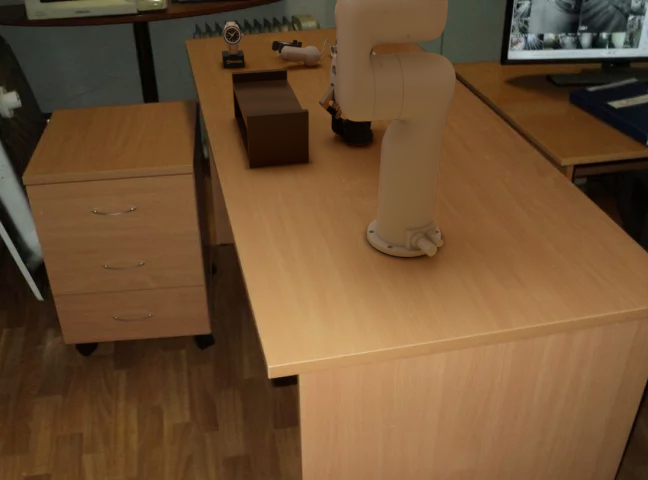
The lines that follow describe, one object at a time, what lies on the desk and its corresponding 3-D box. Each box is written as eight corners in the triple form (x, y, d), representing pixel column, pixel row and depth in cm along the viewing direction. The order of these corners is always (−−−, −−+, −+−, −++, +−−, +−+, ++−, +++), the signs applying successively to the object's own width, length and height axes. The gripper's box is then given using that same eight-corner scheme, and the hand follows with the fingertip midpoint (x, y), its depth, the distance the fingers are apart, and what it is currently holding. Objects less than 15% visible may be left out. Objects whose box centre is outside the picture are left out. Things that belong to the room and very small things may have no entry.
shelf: (308, 162, 148) (308, 111, 141) (249, 168, 145) (246, 116, 139) (287, 115, 167) (286, 68, 161) (234, 119, 165) (231, 72, 158)
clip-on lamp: (330, 62, 205) (269, 54, 198) (334, 39, 202) (273, 30, 195) (345, 72, 195) (282, 64, 188) (350, 48, 193) (286, 38, 185)
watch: (224, 71, 190) (221, 28, 184) (222, 60, 196) (219, 18, 190) (245, 69, 191) (243, 27, 184) (243, 59, 197) (240, 17, 191)
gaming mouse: (356, 118, 166) (357, 102, 163) (377, 146, 154) (378, 128, 152) (329, 121, 164) (330, 104, 162) (348, 149, 153) (349, 131, 150)
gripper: (327, 60, 142) (326, 145, 152) (399, 46, 149) (394, 128, 160) (308, 49, 147) (308, 131, 158) (379, 36, 154) (375, 115, 165)
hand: (351, 129), depth 159 cm, fingers closed on gaming mouse, 6 cm apart
